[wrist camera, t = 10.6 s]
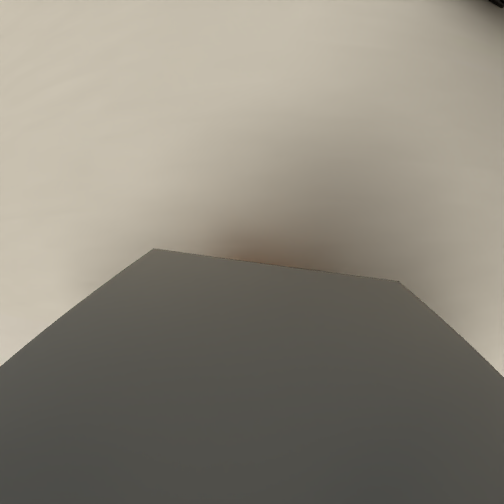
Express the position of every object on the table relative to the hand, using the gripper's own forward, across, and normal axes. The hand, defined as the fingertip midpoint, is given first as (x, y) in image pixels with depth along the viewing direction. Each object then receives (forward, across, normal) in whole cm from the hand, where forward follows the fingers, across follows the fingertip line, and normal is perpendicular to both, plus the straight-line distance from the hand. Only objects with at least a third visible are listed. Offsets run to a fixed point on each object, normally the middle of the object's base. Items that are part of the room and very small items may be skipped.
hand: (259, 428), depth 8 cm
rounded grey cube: (+2, 0, 0) cm, 2 cm away
